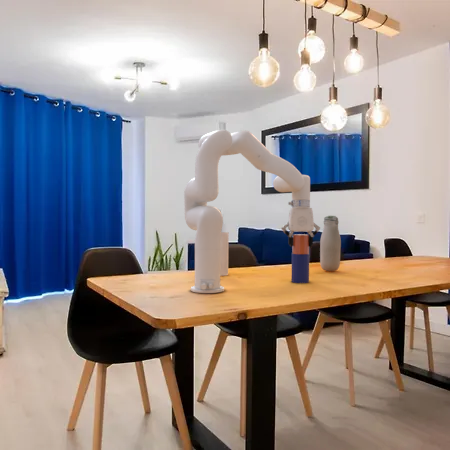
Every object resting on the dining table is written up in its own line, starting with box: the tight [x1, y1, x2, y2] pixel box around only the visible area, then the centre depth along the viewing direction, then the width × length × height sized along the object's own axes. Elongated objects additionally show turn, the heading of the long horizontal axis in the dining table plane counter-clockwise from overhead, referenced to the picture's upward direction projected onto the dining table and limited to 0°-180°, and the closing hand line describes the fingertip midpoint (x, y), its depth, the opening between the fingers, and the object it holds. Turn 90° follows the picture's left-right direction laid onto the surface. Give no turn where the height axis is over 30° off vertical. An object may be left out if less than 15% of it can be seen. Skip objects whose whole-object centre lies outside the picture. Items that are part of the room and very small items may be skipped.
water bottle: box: [291, 252, 310, 284], centre depth 185 cm, size 7×7×16 cm
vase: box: [220, 231, 229, 277], centre depth 208 cm, size 11×7×20 cm, turn 20°
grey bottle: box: [319, 215, 342, 272], centre depth 219 cm, size 10×10×28 cm
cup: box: [291, 233, 310, 255], centre depth 185 cm, size 7×7×8 cm
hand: (300, 246), depth 185 cm, fingers open, 7 cm apart
